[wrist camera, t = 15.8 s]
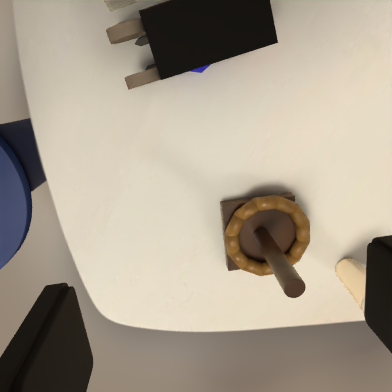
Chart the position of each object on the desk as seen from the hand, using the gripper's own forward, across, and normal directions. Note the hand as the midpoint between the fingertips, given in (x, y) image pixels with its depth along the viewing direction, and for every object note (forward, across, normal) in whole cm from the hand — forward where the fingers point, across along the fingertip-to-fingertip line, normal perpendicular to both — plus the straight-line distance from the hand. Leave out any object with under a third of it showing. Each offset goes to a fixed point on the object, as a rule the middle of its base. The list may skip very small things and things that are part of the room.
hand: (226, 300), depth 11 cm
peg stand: (+30, -8, +12) cm, 34 cm away
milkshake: (+31, -20, +20) cm, 42 cm away
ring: (+28, -9, +12) cm, 32 cm away
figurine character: (+31, -2, -11) cm, 32 cm away
